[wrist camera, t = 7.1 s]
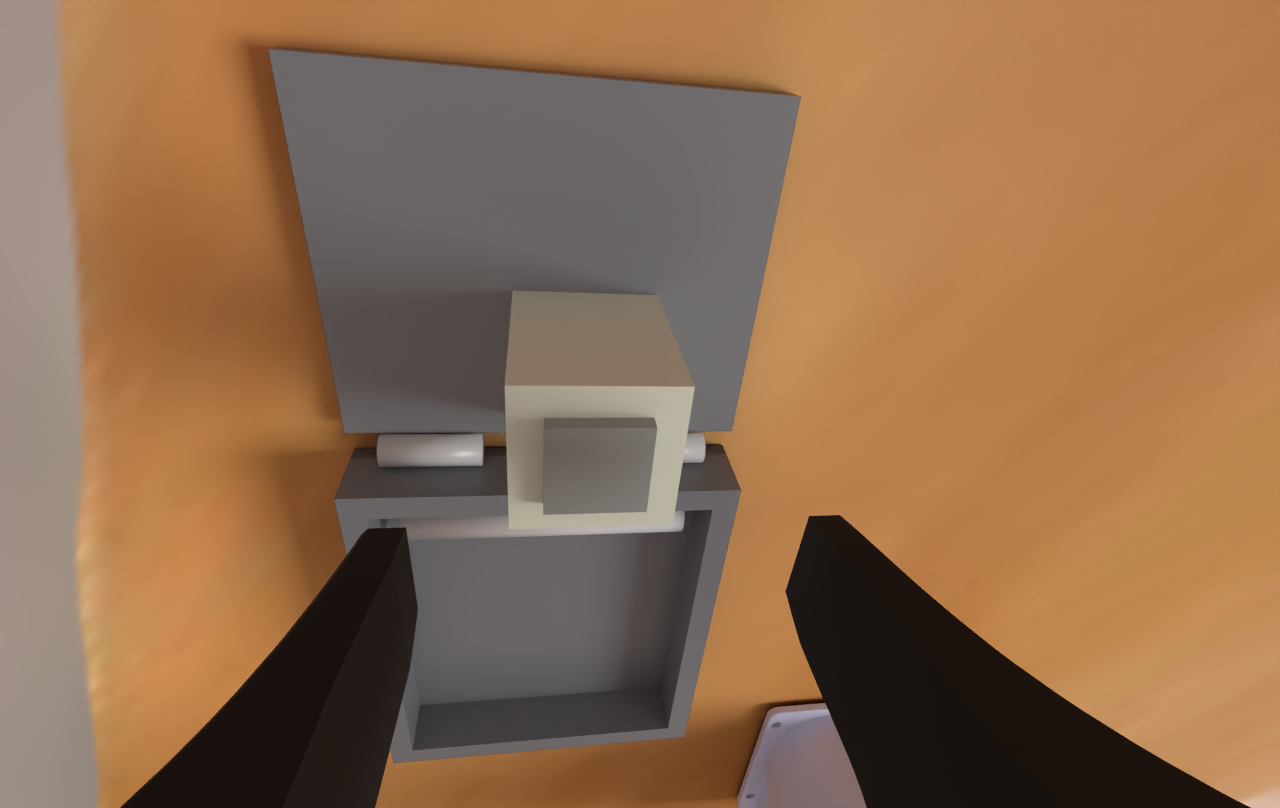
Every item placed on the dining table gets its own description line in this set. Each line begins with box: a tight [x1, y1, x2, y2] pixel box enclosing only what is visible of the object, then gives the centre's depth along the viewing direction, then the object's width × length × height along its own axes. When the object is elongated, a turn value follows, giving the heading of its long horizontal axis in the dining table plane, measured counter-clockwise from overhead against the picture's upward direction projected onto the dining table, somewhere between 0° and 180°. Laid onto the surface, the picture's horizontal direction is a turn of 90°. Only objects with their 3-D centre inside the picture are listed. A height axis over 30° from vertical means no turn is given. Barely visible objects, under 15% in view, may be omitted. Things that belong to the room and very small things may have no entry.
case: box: [334, 445, 741, 763], centre depth 23 cm, size 14×12×2 cm
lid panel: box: [268, 47, 801, 467], centre depth 17 cm, size 11×12×1 cm
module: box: [505, 291, 695, 529], centre depth 16 cm, size 4×4×5 cm
